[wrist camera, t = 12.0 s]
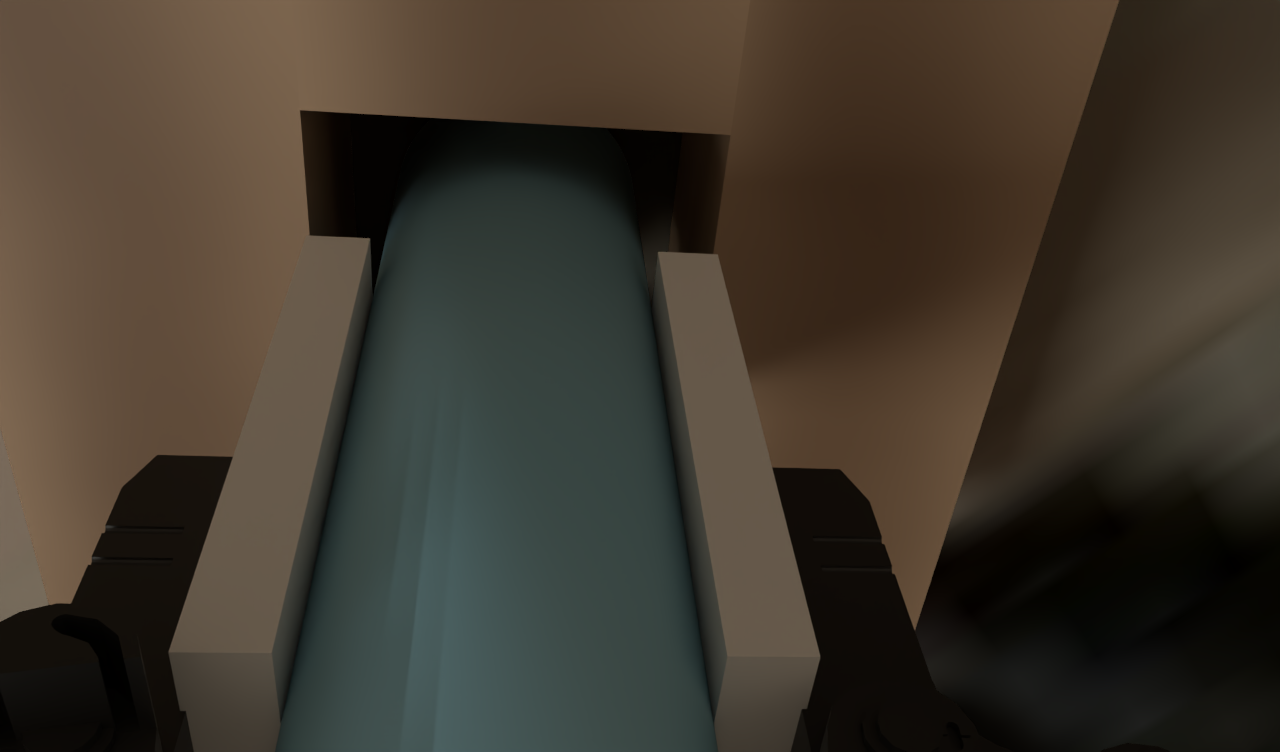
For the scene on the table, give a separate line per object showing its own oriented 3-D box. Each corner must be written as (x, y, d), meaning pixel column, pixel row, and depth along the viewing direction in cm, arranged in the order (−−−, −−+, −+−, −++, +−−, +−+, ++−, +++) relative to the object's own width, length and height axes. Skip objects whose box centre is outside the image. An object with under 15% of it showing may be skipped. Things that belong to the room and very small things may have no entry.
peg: (644, 96, 17) (852, 1162, 6) (622, 304, 19) (744, 1393, 8) (396, 79, 17) (104, 1192, 5) (400, 293, 19) (193, 1430, 8)
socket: (1056, -274, 16) (1193, -228, 13) (853, 509, 24) (904, 662, 21) (-46, -385, 14) (-218, -364, 11) (132, 494, 22) (63, 656, 19)
